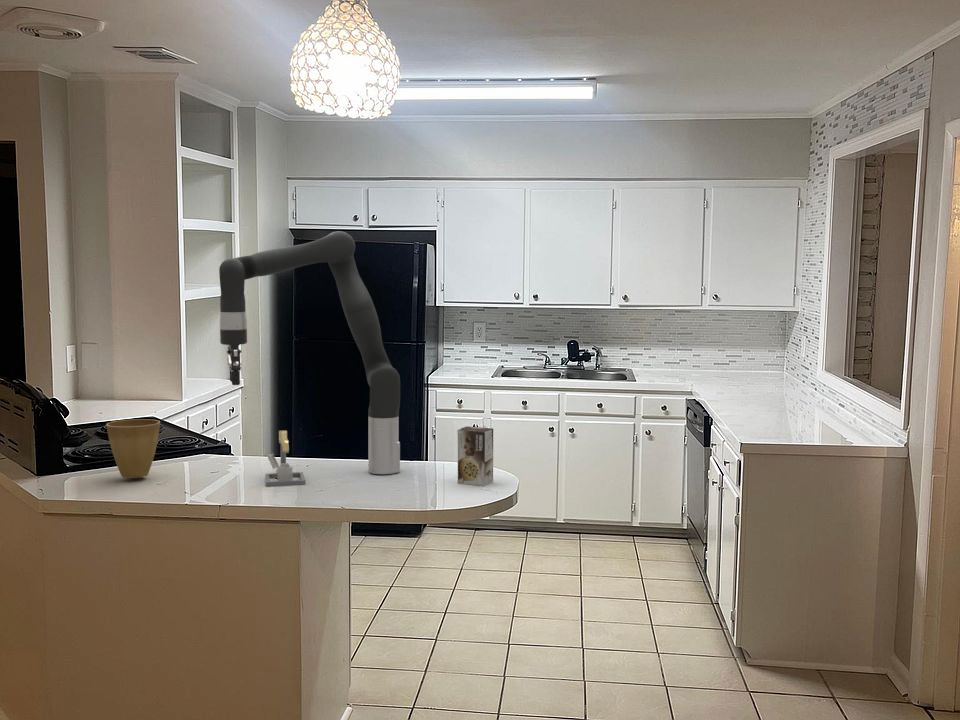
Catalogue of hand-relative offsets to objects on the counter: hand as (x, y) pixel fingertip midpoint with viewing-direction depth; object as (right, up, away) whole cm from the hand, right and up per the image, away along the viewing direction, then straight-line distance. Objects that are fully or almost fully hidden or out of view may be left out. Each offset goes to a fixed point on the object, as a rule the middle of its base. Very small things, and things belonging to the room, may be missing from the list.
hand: (234, 383), depth 254 cm
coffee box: (+70, -30, +2) cm, 76 cm away
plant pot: (-32, -28, +6) cm, 43 cm away
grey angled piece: (+13, -29, +1) cm, 32 cm away
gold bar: (+14, -19, +3) cm, 24 cm away
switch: (+14, -28, +4) cm, 32 cm away
